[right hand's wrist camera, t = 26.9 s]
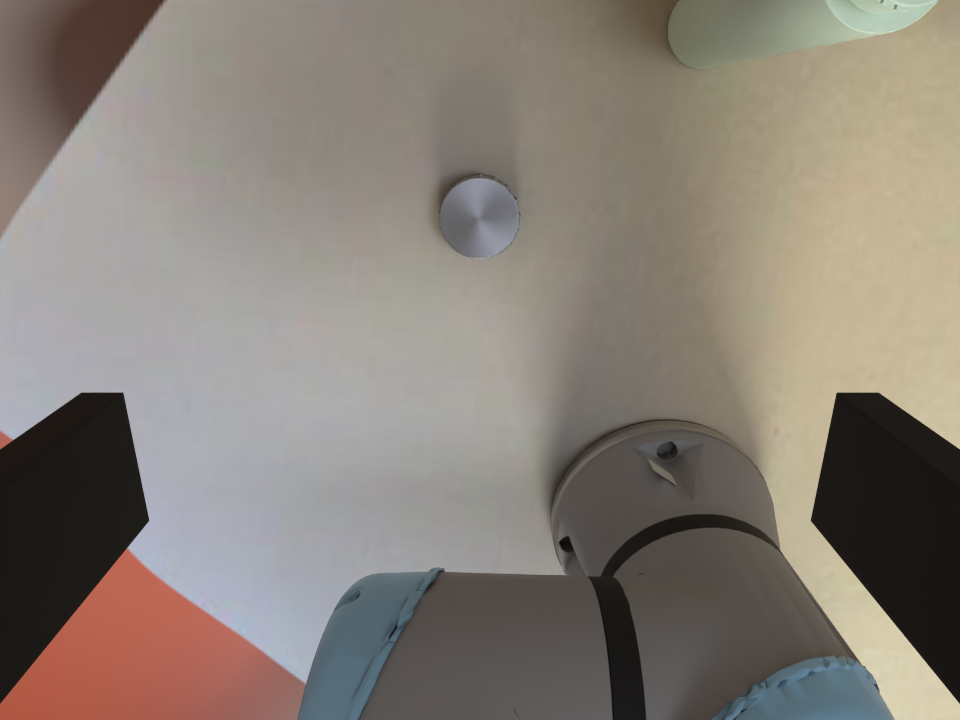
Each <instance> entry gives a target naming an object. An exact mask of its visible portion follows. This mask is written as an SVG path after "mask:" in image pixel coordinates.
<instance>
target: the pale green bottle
mask: <svg viewBox="0 0 960 720" xmlns="http://www.w3.org/2000/svg"><path fill="white" fill-rule="evenodd" d="M937 1H938V0H679V1H678V2H677V4H676V5H675V7H674V9H673V11H672V13H671V16H670V19H669V23H668V40H669V44H670V47H671V50H672V51H673V53H674V55H675V56H676V58H677V59H678V60H679V61H680V62H682V63H683V64H684V65H686V66H688V67H691V68H694V69H710V68H715V67H720V66H725V65H730V64H735V63H740V62H745V61H750V60H755V59H760V58H765V57H770V56H775V55H780V54H785V53H790V52H795V51H800V50H805V49H810V48H815V47H820V46H825V45H830V44H835V43H840V42H845V41H850V40H855V39H860V38H865V37H870V36H875V35H880V34H885V33H890V32H894V31H897V30H899V29H902V28H904V27H906V26H908V25H910V24H912V23H914V22H915V21H917V20H918V19H920V18H921V17H922V16H923V15H924V14H926V13H927V12H928V11H929V10H930V9H931V8H932V7H933V6H934V5H935V4H936V3H937Z"/></svg>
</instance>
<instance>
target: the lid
mask: <svg viewBox="0 0 960 720" xmlns="http://www.w3.org/2000/svg"><path fill="white" fill-rule="evenodd" d="M443 199H444V200H443V202H442V205H441V209H440V210H439V214H440V216H439V221H440V229H441V231H442V234H443V236H444V238H445V240H446V242H447V243H448V244H449V245H450V246H451V247H452V248H453V249H454V250H455V251H457V252H458V253H460V254H462V255H464V256H467V257H470V258H476V259H483V258H489V257H492V256H495V255H497V254H499V253H501V252H502V251H504V250H505V249H506V248H507V247H508V246H509V245H510V244H511V242H512V241H513V240H514V238H515V236H516V234H517V231H518V230H519V229H518V227H519V221H520V217H519V216H521V215H520V212H519V209H518V205H517V203H516V202H517V199H516V197H514V196H513V194H512V192H511V191H510V190H509V187H508V185H505V184H504V183H502V182H501V181H499V180H498V179H496V177H494V178H493V177H491V176H487V175H482V174H481V173H480V175H473V176H469V177H467V176H465V178H463V179H461V180H460V181H458V182H457V183H455V184H454V183H453V184H452V187H451V188H450V189H449V191H448V192H447V194H446V195H444V197H443Z"/></svg>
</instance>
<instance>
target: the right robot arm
mask: <svg viewBox="0 0 960 720" xmlns="http://www.w3.org/2000/svg"><path fill="white" fill-rule="evenodd" d="M148 522H149V517H148V512H147V507H146V503H145V498H144V493H143V488H142V483H141V478H140V473H139V468H138V463H137V458H136V453H135V448H134V443H133V439H132V434H131V429H130V424H129V419H128V414H127V409H126V404H125V399H124V394H123V393H80V394H79V395H78V396H76V397H75V398H73V399H72V400H70V401H69V402H68V403H66V404H65V405H63V406H62V407H60V408H59V409H58V410H56V411H55V412H53V413H52V414H50V415H49V416H48V417H46V418H45V419H43V420H42V421H40V422H39V423H38V424H36V425H35V426H33V427H32V428H30V429H29V430H27V431H26V432H25V433H23V434H22V435H20V436H19V437H17V438H16V439H15V440H13V441H12V442H10V443H9V444H7V445H6V446H5V447H3V448H2V449H0V703H1V702H2V701H3V700H4V698H5V697H6V696H7V695H8V693H9V692H10V691H11V690H12V688H13V687H14V686H15V685H16V684H17V682H18V681H19V680H20V679H21V677H22V676H23V675H24V674H25V673H26V671H27V670H28V669H29V668H30V666H31V665H32V664H33V663H34V661H35V660H36V659H37V658H38V657H39V655H40V654H41V653H42V652H43V650H44V649H45V648H46V647H47V645H48V644H49V643H50V642H51V641H52V639H53V638H54V637H55V636H56V634H57V633H58V632H59V631H60V630H61V628H62V627H63V626H64V625H65V623H66V622H67V621H68V620H69V619H70V617H71V616H72V615H73V614H74V612H75V611H76V610H77V609H78V607H79V606H80V605H81V604H82V603H83V601H84V600H85V599H86V598H87V596H88V595H89V594H90V593H91V591H92V590H93V589H94V588H95V587H96V585H97V584H98V583H99V582H100V580H101V579H102V578H103V577H104V576H105V574H106V573H107V572H108V571H109V569H110V568H111V567H112V566H113V564H114V563H115V562H116V561H117V560H118V558H119V557H120V556H121V555H122V553H123V552H124V551H125V550H126V549H127V547H128V546H129V545H130V544H131V542H132V541H133V540H134V539H135V537H136V536H137V535H138V534H139V533H140V531H141V530H142V529H143V528H144V526H145V525H146V524H147V523H148ZM811 522H812V523H813V524H814V525H815V526H816V528H817V529H818V530H819V531H820V533H821V534H822V535H823V536H824V537H825V539H826V540H827V541H828V542H829V544H830V545H831V546H832V547H833V549H834V550H835V551H836V552H837V553H838V555H839V556H840V557H841V558H842V560H843V561H844V562H845V563H846V564H847V566H848V567H849V568H850V569H851V571H852V572H853V573H854V574H855V576H856V577H857V578H858V579H859V580H860V582H861V583H862V584H863V585H864V587H865V588H866V589H867V590H868V591H869V593H870V594H871V595H872V596H873V598H874V599H875V600H876V601H877V603H878V604H879V605H880V606H881V607H882V609H883V610H884V611H885V612H886V614H887V615H888V616H889V617H890V619H891V620H892V621H893V622H894V623H895V625H896V626H897V627H898V628H899V630H900V631H901V632H902V633H903V634H904V636H905V637H906V638H907V639H908V641H909V642H910V643H911V644H912V646H913V647H914V648H915V649H916V650H917V652H918V653H919V654H920V655H921V657H922V658H923V659H924V660H925V661H926V663H927V664H928V665H929V666H930V668H931V669H932V670H933V671H934V673H935V674H936V675H937V676H938V677H939V679H940V680H941V681H942V682H943V684H944V685H945V686H946V687H947V688H948V690H949V691H950V692H951V693H952V695H953V696H954V697H955V698H956V700H957V701H958V702H959V703H960V449H958V448H957V447H955V446H954V445H953V444H951V443H950V442H948V441H947V440H945V439H944V438H943V437H941V436H940V435H938V434H937V433H935V432H934V431H933V430H931V429H930V428H928V427H927V426H925V425H924V424H922V423H921V422H920V421H918V420H917V419H915V418H914V417H912V416H911V415H910V414H908V413H907V412H905V411H904V410H902V409H901V408H900V407H898V406H897V405H895V404H894V403H892V402H891V401H890V400H888V399H887V398H885V397H884V396H882V395H881V394H880V393H837V394H836V399H835V404H834V409H833V414H832V419H831V424H830V429H829V434H828V438H827V443H826V448H825V453H824V458H823V463H822V468H821V473H820V478H819V483H818V488H817V493H816V498H815V503H814V507H813V512H812V517H811ZM551 528H552V535H553V541H554V546H555V551H556V554H557V557H558V560H559V562H560V564H561V566H562V568H563V570H564V572H565V574H566V575H523V574H489V573H455V572H445V570H444V568H433V569H431V570H430V571H429V572H407V573H378V574H372V575H369V576H366V577H364V578H362V579H360V580H359V581H357V582H356V583H355V584H353V585H352V586H351V587H350V588H349V589H348V590H347V591H346V592H345V594H344V595H343V596H342V598H341V599H340V601H339V602H338V604H337V606H336V608H335V609H334V612H333V614H332V615H331V617H330V619H329V621H328V624H327V626H326V628H325V631H324V633H323V635H322V638H321V640H320V643H319V646H318V648H317V651H316V654H315V657H314V660H313V663H312V666H311V670H310V673H309V676H308V680H307V683H306V687H305V690H304V694H303V698H302V702H301V706H300V710H299V714H298V719H297V720H895V719H894V718H893V716H892V714H891V712H890V711H889V709H888V707H887V705H886V704H885V702H884V700H883V698H882V697H881V695H880V692H879V688H878V686H877V683H876V681H875V680H874V678H873V676H872V674H871V673H870V672H869V671H868V670H867V669H866V667H865V666H862V664H861V663H860V662H859V660H858V659H857V657H856V656H855V655H854V653H853V652H852V650H851V649H850V648H849V646H848V645H847V643H846V642H845V641H844V639H843V638H842V636H841V635H840V634H839V632H838V631H837V629H836V628H835V627H834V625H833V624H832V622H831V621H830V620H829V618H828V617H827V615H826V614H825V613H824V611H823V610H822V608H821V607H820V606H819V604H818V603H817V601H816V600H815V599H814V597H813V596H812V594H811V593H810V592H809V590H808V589H807V587H806V586H805V585H804V583H803V582H802V580H801V579H800V578H799V576H798V575H797V573H796V572H795V571H794V569H793V568H792V566H791V565H790V563H789V562H788V561H787V559H786V558H785V557H784V555H783V554H782V552H781V551H780V544H779V538H778V532H777V525H776V520H775V513H774V507H773V502H772V498H771V495H770V493H769V490H768V487H767V485H766V482H765V480H764V478H763V476H762V475H761V473H760V472H759V470H758V469H757V467H756V466H755V465H754V463H753V462H752V461H751V460H750V458H749V457H748V456H747V455H746V453H745V452H744V451H743V450H742V449H741V448H740V447H739V446H738V445H737V444H736V443H734V442H733V441H732V440H730V439H729V438H727V437H726V436H724V435H722V434H721V433H719V432H717V431H715V430H712V429H710V428H707V427H704V426H702V425H698V424H694V423H689V422H683V421H670V420H668V421H652V422H645V423H640V424H636V425H632V426H629V427H626V428H623V429H621V430H618V431H616V432H613V433H611V434H610V435H608V436H606V437H604V438H602V439H601V440H599V441H597V442H596V443H594V444H593V445H592V446H590V447H589V448H588V449H587V450H585V451H584V452H583V453H582V454H581V455H580V456H579V457H578V458H577V459H576V460H575V461H574V462H573V464H572V465H571V466H570V468H569V469H568V470H567V472H566V473H565V475H564V476H563V478H562V480H561V482H560V484H559V486H558V488H557V491H556V494H555V497H554V500H553V505H552V512H551Z"/></svg>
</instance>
